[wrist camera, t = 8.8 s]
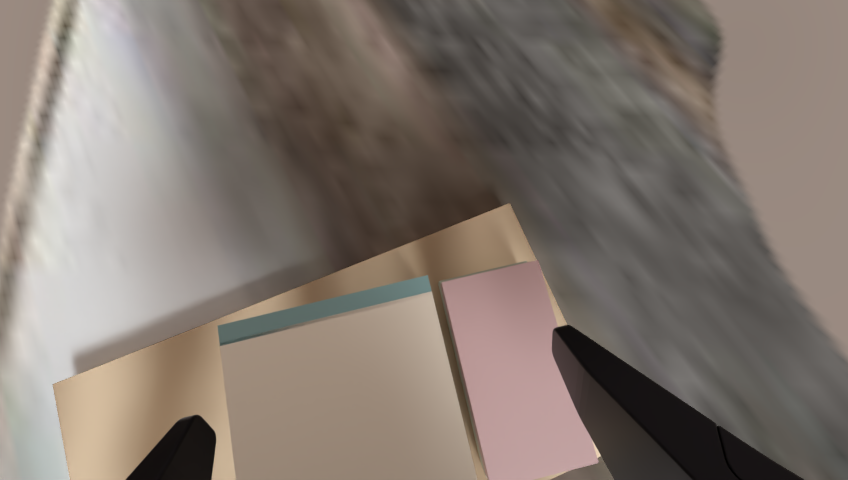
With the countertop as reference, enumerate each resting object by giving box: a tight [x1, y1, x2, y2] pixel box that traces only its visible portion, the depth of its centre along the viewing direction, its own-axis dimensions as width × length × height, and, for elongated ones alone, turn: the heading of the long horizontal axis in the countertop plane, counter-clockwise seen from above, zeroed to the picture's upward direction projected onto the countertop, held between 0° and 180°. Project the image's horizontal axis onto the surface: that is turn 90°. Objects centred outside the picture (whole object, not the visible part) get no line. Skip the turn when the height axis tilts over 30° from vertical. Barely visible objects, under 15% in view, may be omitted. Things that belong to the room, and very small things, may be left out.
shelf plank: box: [53, 203, 601, 480], centre depth 17 cm, size 23×12×1 cm, turn 112°
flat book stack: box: [438, 260, 599, 480], centre depth 15 cm, size 8×4×3 cm, turn 13°
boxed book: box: [217, 275, 477, 480], centre depth 11 cm, size 6×3×12 cm, turn 14°
